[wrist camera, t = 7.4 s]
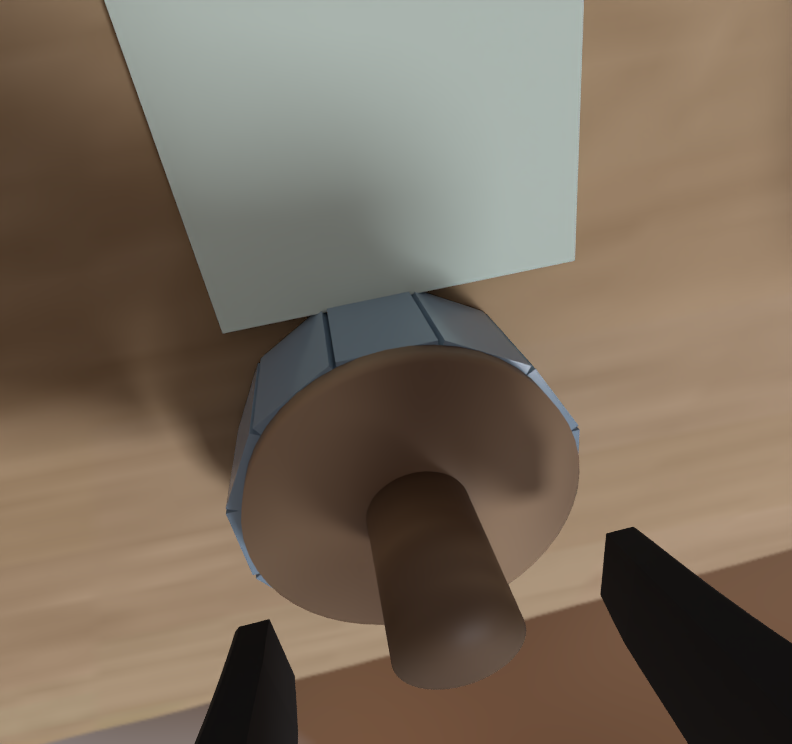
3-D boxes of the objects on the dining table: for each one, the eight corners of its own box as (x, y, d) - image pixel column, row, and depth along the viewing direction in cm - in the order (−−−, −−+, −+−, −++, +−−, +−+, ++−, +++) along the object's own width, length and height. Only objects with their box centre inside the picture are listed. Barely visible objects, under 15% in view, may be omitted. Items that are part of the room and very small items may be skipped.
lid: (567, 308, 11) (702, 413, 8) (562, 557, 16) (648, 702, 12) (192, 393, 11) (138, 552, 7) (294, 629, 15) (294, 808, 11)
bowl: (523, 263, 14) (585, 308, 11) (527, 497, 19) (572, 573, 16) (200, 330, 14) (174, 397, 11) (286, 557, 18) (285, 649, 15)
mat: (584, -251, 10) (593, -261, 9) (569, 257, 15) (574, 260, 14) (41, -188, 9) (34, -197, 8) (223, 329, 14) (222, 333, 13)
